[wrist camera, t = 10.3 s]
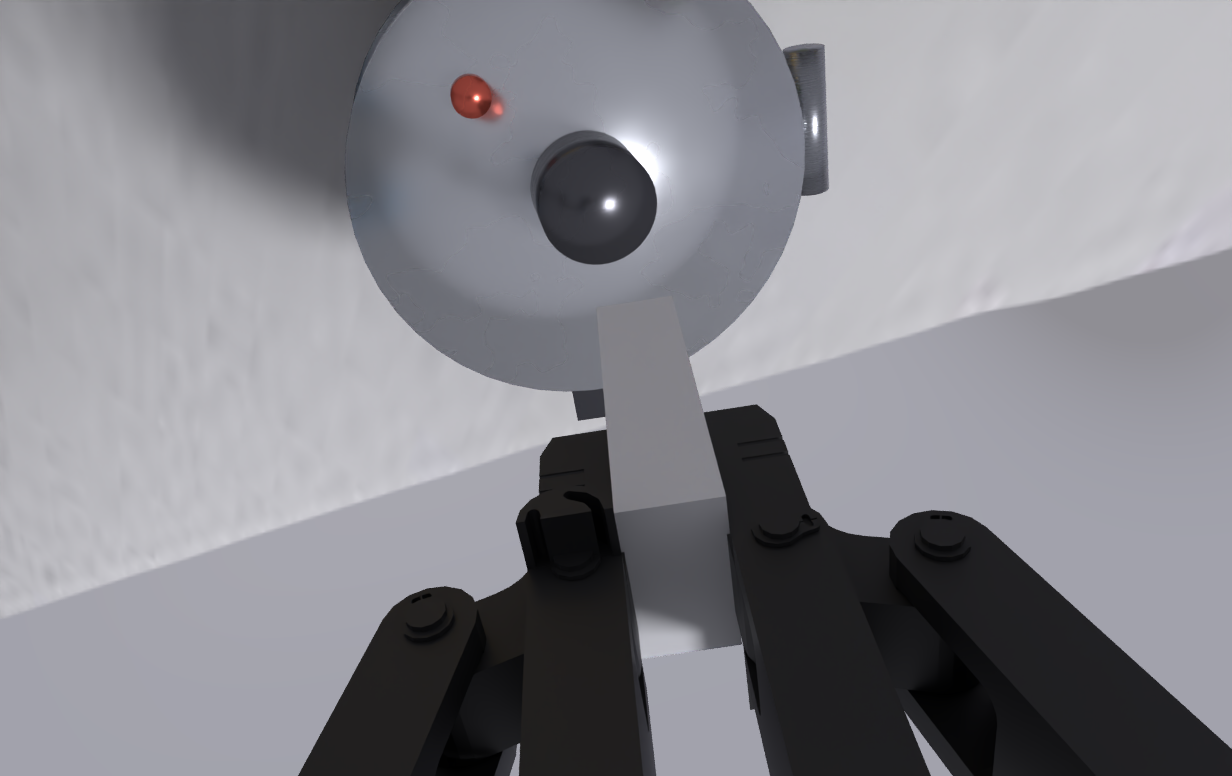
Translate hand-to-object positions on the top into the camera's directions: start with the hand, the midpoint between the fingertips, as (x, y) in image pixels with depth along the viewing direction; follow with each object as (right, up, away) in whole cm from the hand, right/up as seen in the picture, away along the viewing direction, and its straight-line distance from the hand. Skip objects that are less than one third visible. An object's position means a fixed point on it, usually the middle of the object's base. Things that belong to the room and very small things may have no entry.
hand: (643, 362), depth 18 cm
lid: (-2, +7, +12) cm, 14 cm away
